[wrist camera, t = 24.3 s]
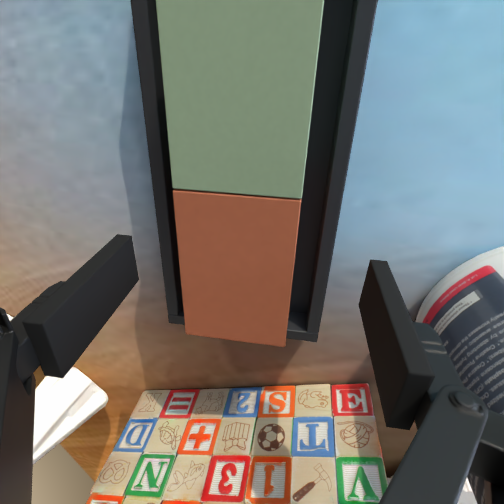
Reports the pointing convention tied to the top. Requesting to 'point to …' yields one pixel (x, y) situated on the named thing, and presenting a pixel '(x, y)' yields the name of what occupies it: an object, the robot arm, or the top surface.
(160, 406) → the stack of blocks
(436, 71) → the top surface
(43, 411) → the shaker set
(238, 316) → the terracotta rectangular block
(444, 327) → the supplement tub
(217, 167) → the pale green rectangular block
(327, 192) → the backing tray
